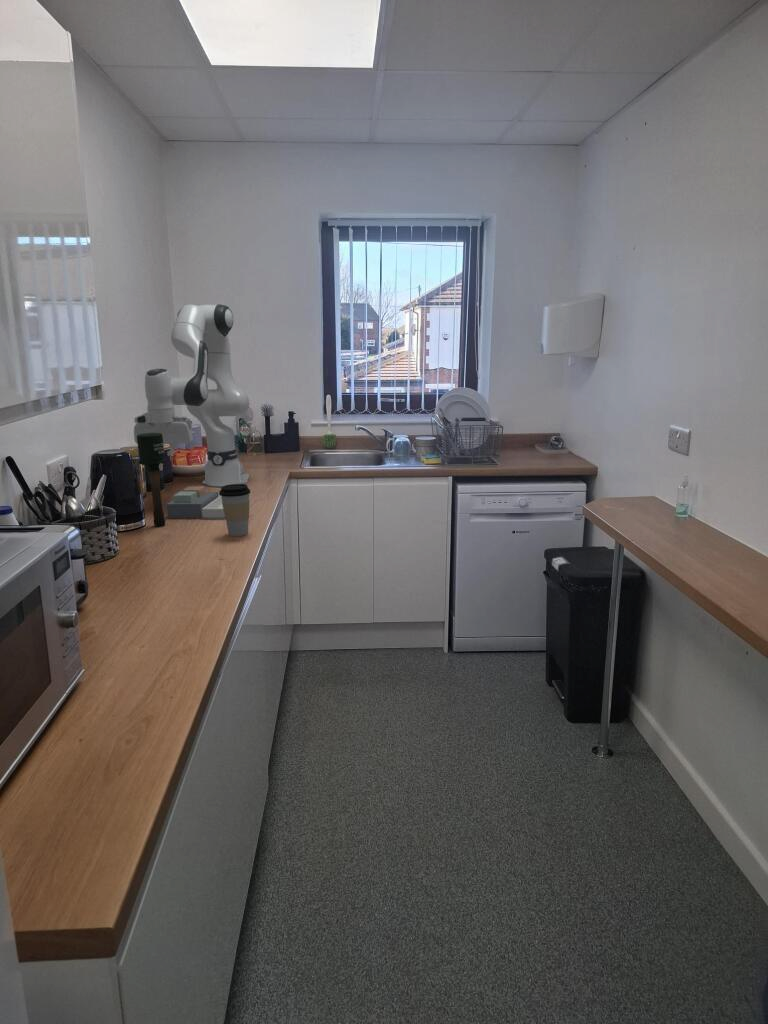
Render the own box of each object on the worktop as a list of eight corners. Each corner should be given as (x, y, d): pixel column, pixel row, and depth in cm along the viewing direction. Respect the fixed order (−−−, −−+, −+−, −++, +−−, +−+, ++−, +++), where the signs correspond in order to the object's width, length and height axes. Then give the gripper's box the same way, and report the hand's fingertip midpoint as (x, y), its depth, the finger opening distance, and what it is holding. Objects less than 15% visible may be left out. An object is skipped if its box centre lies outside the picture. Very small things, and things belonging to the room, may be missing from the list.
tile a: (189, 493, 241) (188, 486, 241) (205, 493, 241) (204, 486, 240) (183, 497, 236) (182, 490, 235) (199, 497, 235) (198, 490, 234)
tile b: (181, 498, 234) (180, 491, 233) (197, 498, 233) (196, 491, 233) (174, 502, 228) (173, 495, 227) (191, 502, 227) (190, 495, 227)
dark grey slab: (187, 505, 245) (186, 491, 244) (219, 505, 244) (218, 491, 242) (167, 518, 227) (166, 504, 226) (202, 518, 226) (200, 504, 225)
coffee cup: (259, 530, 210) (255, 484, 206) (243, 539, 202) (239, 490, 198) (233, 528, 213) (229, 482, 209) (216, 536, 205) (212, 489, 201)
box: (221, 504, 245) (220, 495, 244) (248, 504, 244) (247, 495, 243) (202, 519, 225) (201, 509, 224) (231, 519, 224) (230, 509, 224)
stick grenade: (165, 529, 214) (154, 436, 206) (140, 528, 216) (129, 436, 208) (178, 522, 222) (168, 432, 214) (154, 521, 224) (144, 432, 216)
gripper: (193, 415, 234) (197, 454, 238) (137, 416, 236) (142, 454, 239) (187, 417, 228) (191, 457, 232) (129, 418, 230) (134, 458, 233)
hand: (165, 456), depth 235 cm, fingers open, 2 cm apart
